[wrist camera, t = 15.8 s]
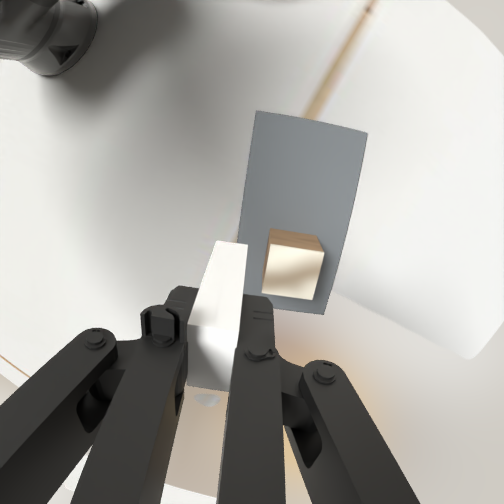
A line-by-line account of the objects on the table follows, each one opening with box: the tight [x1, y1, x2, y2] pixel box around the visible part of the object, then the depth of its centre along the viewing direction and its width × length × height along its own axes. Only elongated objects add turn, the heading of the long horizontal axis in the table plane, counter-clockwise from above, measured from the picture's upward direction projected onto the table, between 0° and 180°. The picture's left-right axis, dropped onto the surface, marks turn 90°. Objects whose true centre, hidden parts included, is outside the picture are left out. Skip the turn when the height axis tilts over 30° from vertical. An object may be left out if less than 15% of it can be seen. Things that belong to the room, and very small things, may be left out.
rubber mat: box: [237, 111, 367, 315], centre depth 45 cm, size 30×16×1 cm, turn 172°
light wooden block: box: [262, 228, 324, 300], centre depth 44 cm, size 7×7×7 cm
